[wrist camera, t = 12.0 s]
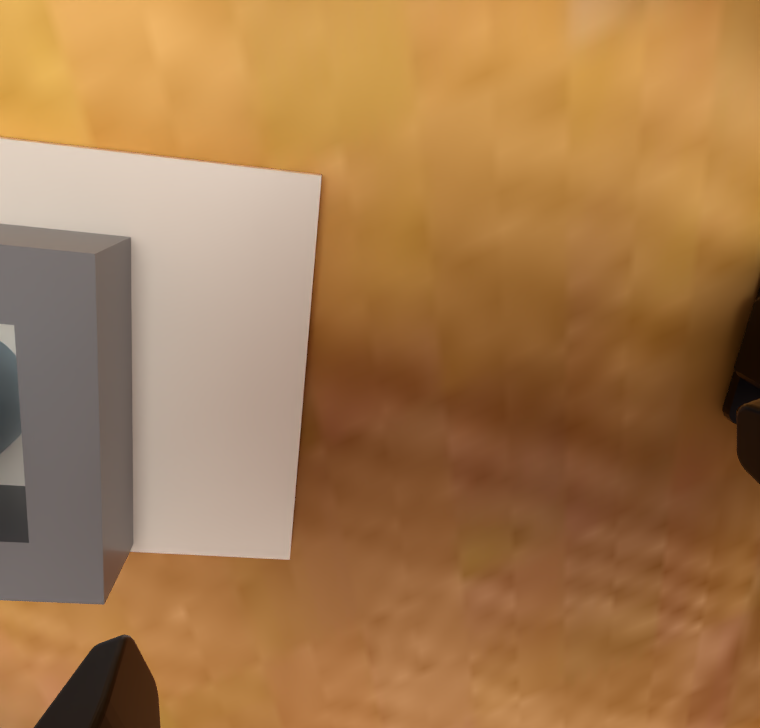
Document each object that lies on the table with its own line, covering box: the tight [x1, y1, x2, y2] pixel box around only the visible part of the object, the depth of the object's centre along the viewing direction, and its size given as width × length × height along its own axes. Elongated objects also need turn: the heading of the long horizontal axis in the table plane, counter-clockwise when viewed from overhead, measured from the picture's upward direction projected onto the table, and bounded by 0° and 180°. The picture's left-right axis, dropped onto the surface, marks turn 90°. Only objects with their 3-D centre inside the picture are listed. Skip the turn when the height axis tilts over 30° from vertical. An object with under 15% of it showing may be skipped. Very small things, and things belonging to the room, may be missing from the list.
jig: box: [0, 137, 322, 604], centre depth 18 cm, size 16×13×4 cm
